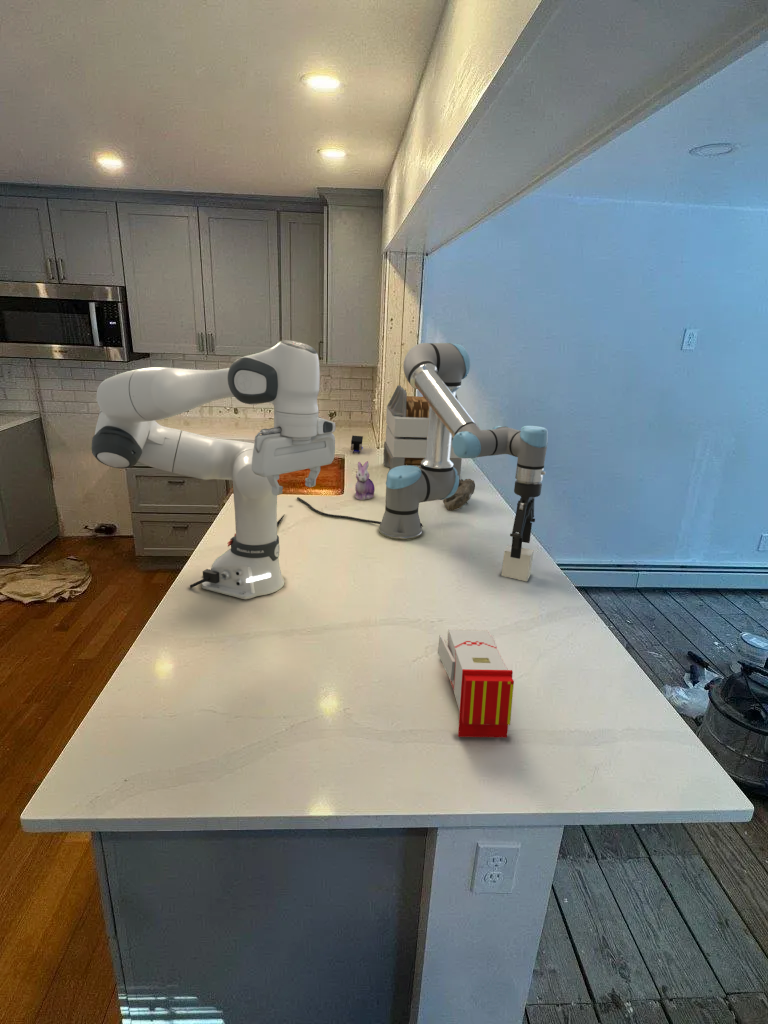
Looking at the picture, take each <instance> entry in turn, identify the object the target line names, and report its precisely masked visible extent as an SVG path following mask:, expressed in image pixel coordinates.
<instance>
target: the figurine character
mask: <svg viewBox="0 0 768 1024" xmlns="http://www.w3.org/2000/svg"><path fill="white" fill-rule="evenodd" d="M363 439H364V436H363V435H351V441H350V451H352V454H355V453H357V454H360V451H362V450H363V449H364V447H363Z"/></svg>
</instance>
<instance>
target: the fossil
mask: <svg viewBox="0 0 768 1024" xmlns="http://www.w3.org/2000/svg"><path fill="white" fill-rule="evenodd" d="M475 490H476V483H475V480H473V479H471V478H466V479H463V478H460V480H459V485H458V489H457V491H456V492H455V494H454V495H452V496H451V497H449V498H445V499H443V500H442V502H443V503H444V507H445V508H446V509H447V510H448V511H456V510H458V509H462V507H463V506H465V505H468V504H469V503H468V502H469V501H470V500H471V497H472V496H473V495H474V494H475Z"/></svg>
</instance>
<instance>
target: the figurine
mask: <svg viewBox="0 0 768 1024" xmlns="http://www.w3.org/2000/svg"><path fill="white" fill-rule="evenodd" d="M368 468H369V460H367V461H365V463H364V464H363V465H362V462H360V461H358V462H357V472H356V474H355V478H356V480H357V481H356V483H355V488H354V489H355V493H354V497H355V499H356V500H361V501H362V500H363V501H364V500H370V499H372V498H374V496H375V491H376V488H375V484H374V482H373V481H372V479H370V473H369V471H368Z"/></svg>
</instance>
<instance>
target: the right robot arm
mask: <svg viewBox="0 0 768 1024" xmlns="http://www.w3.org/2000/svg"><path fill="white" fill-rule="evenodd" d="M402 366H403V372H404V376H405V378H406V380H407V382H408V383H409V384H410V386H411V387H412V388H413V389H414V390H418V391H419V393H420V394H421V396H422V397H424V398H425V400H426V401H427V402H428V404H429V417H428V430H427V443H426V457H425V458H424V459H423V460H422V461H421V466H412V465H408V466H407V465H404V466H398V467H395V468H392V469H391V470H390V469H389V470H388V472H387V475H386V479H385V504H384V505H385V507H384V508H385V509H384V513H383V515H382V519H381V521H379V520H371V519H365V518H359V517H354V516H350V515H349V516H348V515H341V514H340V515H339V514H331V513H326V512H323V511H321V510H318V509H317V508H314V507H313V506H312V505H311V504H310V503H308V502H307V501H305V500H304V499H302V498H301V497H299V496H298V497H296V500H298V501H299V502H301V503H303V504H304V505H306V506H307V507H308V508H309V509H310V510H311V511H313V512H314V513H316V514H319V515H322V516H325V517H330V518H337V519H346V520H351V521H358V522H364V523H367V524H369V523H370V524H376V525H379V527H378V533H379V534H380V535H381V536H382V537H385V538H387V539H389V540H395V541H410V540H415V539H418V538H420V537H421V536H422V535H423V528H424V526H423V523H422V522H421V518H420V515H419V507H420V506H419V505H420V503H426V502H432V501H433V502H434V501H443V499H445V498H449V497H451V496H452V495H454V494H455V492H456V491H457V489H458V485H459V476H458V475H457V474H458V472H457V470H456V469H455V468H454V467H453V465H454V464H453V463H452V461H451V460H450V451H451V440H452V436H453V441H452V447H453V448H454V453H455V455H456V456H458V457H459V458H462V459H475V458H483V457H493V456H500V455H501V456H502V455H509V456H512V457H515V458H517V461H516V469H515V478H514V479H515V481H514V487H513V492H514V494H515V495H517V496H519V497H520V499H519V500H518V501H517V503H516V510H515V515H514V521H513V526H512V531H511V532H510V534H509V537H512V539H511V540H512V541H511V546H512V548H511V556H510V557H513V558H518V559H520V556H521V548H523V543H525V544H526V543H527V544H530V543H531V542H530V541H531V534H532V527H533V523H535V522H536V518H535V498H537V497H540V496H541V495H542V486H543V484H542V481H543V477H544V476H545V475H546V471H545V470H544V468H545V461H546V455H547V449H548V444H549V442H548V441H549V430H548V429H547V428H546V427H544V426H537V425H524V426H522V427H521V428H520V430H519V429H515V428H512V427H509V426H507V425H495V426H494V427H492V428H491V429H481V428H480V427H479V426H478V425H477V423H476V422H475V420H474V419H473V418H472V417H471V415H470V414H469V413H468V412H467V410H466V409H465V408H464V406H463V405H462V403H460V401H459V399H458V400H457V399H456V398H455V396H456V395H457V391H458V389H460V388H461V387H462V380H464V379H466V378H467V376H468V375H469V373H470V372H471V371H470V370H471V359H470V355H469V352H468V351H467V349H466V348H465V347H464V346H463V345H462V344H458V343H452V342H421V343H418V344H415V345H414V346H412V347H411V348H410V349H409V350H408V351H407V353H406V355H405V357H404V359H403V365H402Z"/></svg>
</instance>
